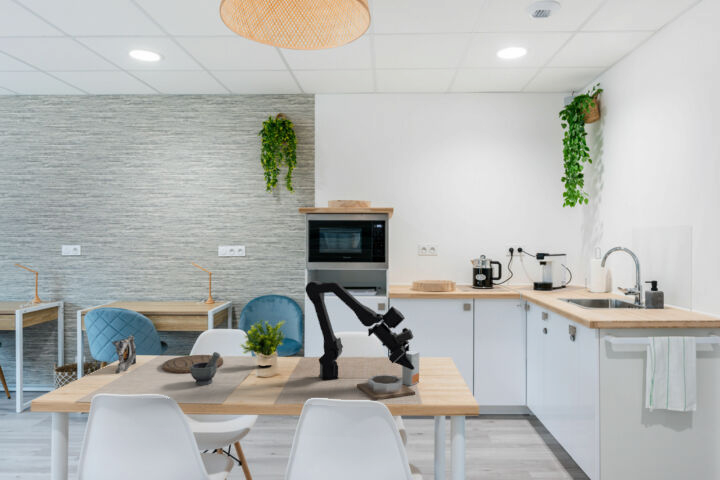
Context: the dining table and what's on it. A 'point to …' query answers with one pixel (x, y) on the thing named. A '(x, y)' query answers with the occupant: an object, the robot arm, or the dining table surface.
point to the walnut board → (378, 396)
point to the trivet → (187, 363)
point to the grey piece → (125, 353)
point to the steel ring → (390, 382)
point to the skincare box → (410, 375)
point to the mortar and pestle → (205, 371)
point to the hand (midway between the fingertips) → (414, 366)
